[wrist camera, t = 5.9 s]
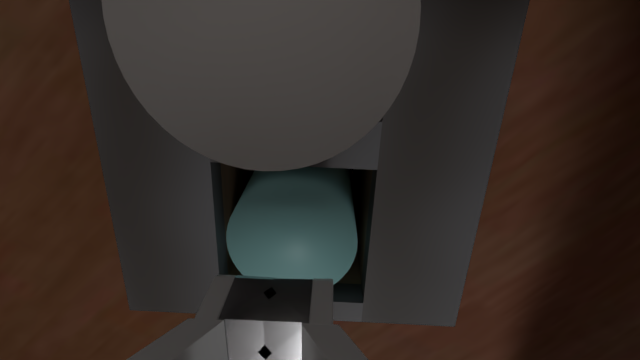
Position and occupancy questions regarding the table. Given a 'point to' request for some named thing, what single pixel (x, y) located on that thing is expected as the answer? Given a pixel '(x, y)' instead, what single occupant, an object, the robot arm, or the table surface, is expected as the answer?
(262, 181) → the teal peg
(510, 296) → the table surface
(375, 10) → the grey peg
